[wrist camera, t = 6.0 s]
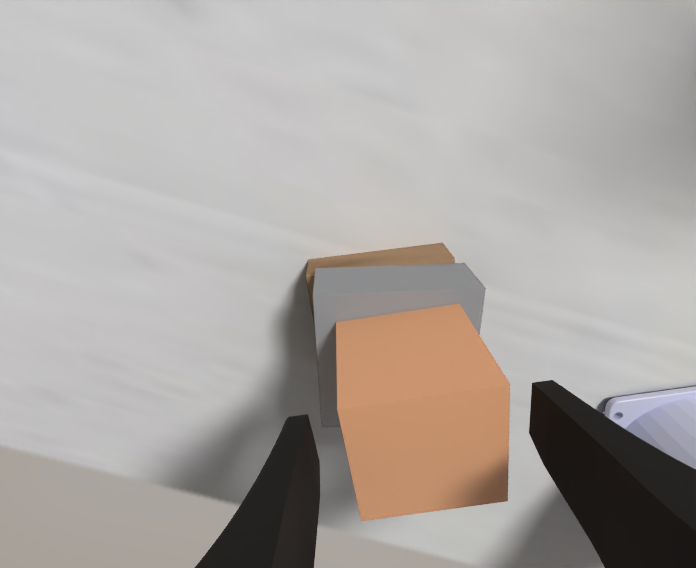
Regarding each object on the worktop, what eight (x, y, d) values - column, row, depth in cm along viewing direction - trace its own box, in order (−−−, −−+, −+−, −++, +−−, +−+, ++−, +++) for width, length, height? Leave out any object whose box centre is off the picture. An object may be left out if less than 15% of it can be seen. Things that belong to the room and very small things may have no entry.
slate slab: (452, 383, 18) (468, 420, 16) (323, 388, 18) (321, 427, 16) (464, 262, 16) (485, 288, 14) (315, 268, 16) (312, 294, 14)
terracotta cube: (463, 399, 16) (507, 501, 12) (353, 415, 16) (361, 521, 12) (459, 303, 14) (510, 384, 10) (335, 322, 14) (337, 409, 10)
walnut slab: (442, 349, 21) (455, 378, 18) (327, 363, 21) (326, 393, 18) (439, 239, 18) (454, 257, 16) (309, 255, 18) (305, 276, 16)
